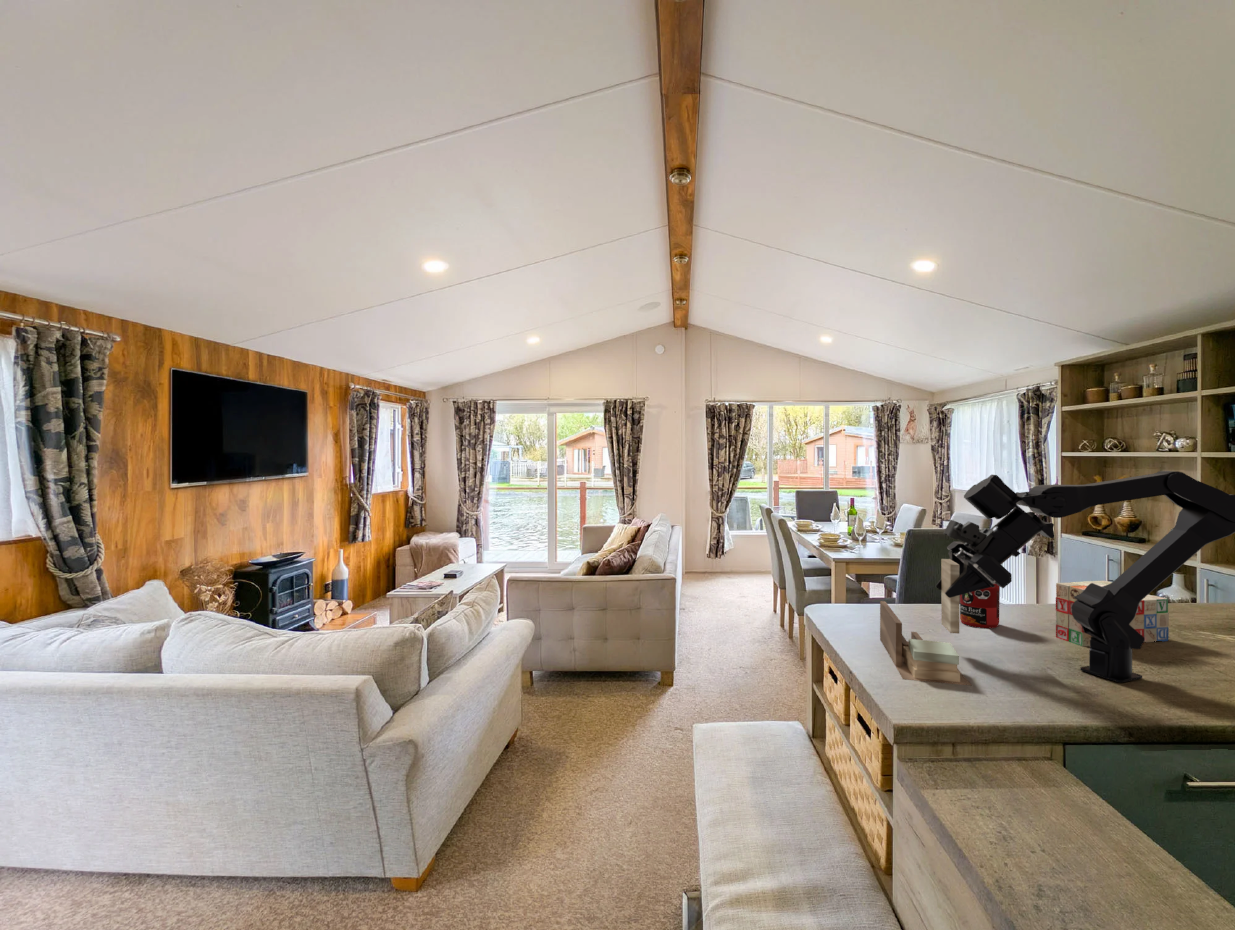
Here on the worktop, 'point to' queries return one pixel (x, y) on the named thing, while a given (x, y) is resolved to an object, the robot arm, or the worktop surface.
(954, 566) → the birch board
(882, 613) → the offcut rack
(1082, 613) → the robot arm
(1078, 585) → the stack of blocks
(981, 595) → the canned food
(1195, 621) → the worktop surface
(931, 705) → the worktop surface
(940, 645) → the offcut stack
